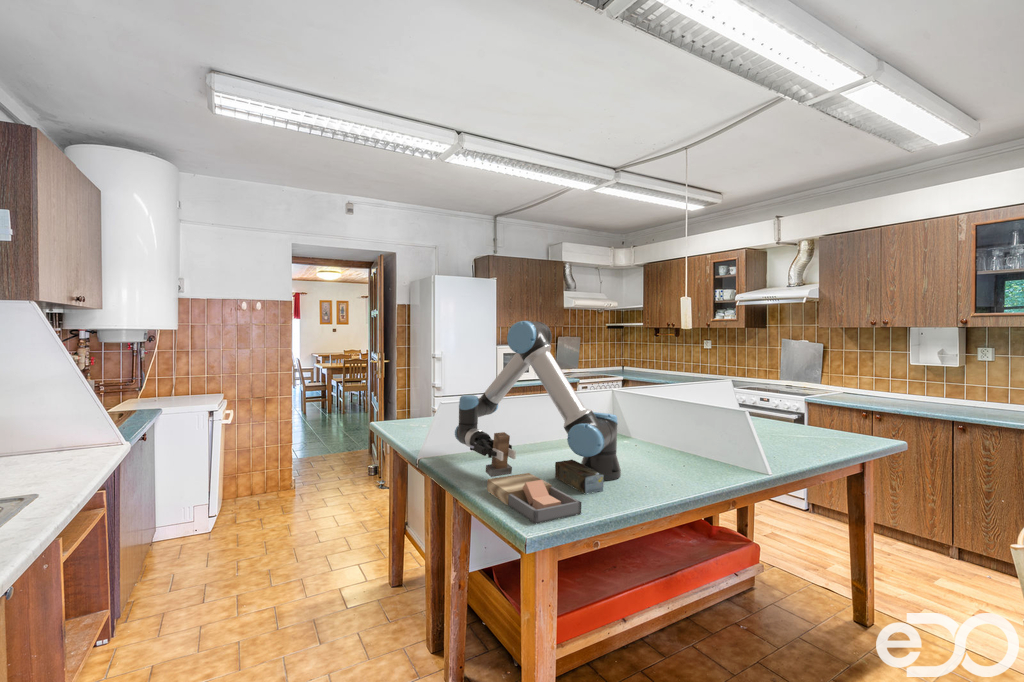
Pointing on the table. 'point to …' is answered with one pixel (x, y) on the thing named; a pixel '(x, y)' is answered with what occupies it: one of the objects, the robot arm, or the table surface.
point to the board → (512, 486)
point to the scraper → (502, 466)
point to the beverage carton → (579, 476)
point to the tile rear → (534, 490)
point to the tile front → (545, 502)
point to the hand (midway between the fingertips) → (508, 455)
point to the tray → (545, 514)
